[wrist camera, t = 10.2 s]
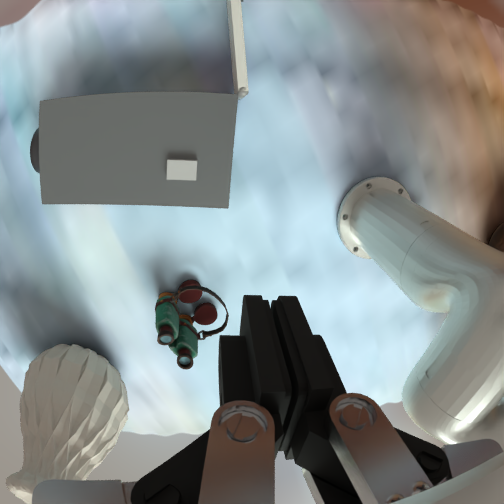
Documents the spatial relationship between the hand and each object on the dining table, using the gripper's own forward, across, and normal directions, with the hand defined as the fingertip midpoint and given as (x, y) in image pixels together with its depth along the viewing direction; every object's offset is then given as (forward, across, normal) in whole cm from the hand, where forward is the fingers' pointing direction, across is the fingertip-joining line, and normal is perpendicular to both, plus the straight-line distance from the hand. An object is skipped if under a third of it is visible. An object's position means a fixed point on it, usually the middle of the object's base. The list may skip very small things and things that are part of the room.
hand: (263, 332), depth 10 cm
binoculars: (+32, +4, +20) cm, 38 cm away
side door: (+32, 0, -16) cm, 36 cm away
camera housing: (+32, +12, -3) cm, 34 cm away
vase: (+32, +25, +37) cm, 55 cm away
